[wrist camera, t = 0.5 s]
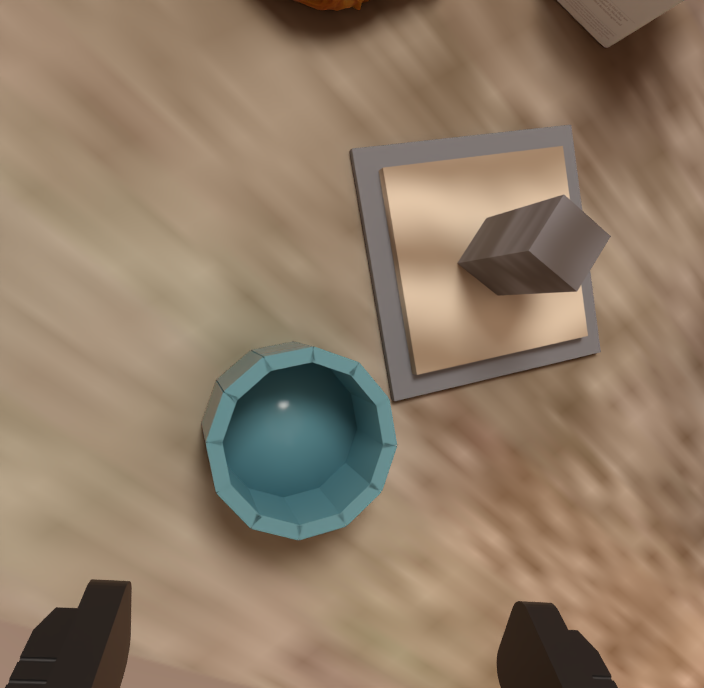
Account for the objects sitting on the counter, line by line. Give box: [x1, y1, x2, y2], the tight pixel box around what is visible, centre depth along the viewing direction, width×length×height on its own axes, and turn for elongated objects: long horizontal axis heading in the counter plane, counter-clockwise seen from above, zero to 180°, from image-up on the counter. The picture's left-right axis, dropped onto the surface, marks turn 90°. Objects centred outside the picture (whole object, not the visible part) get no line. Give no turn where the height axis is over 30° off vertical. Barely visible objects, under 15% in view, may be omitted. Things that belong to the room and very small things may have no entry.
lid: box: [379, 146, 611, 375], centre depth 35 cm, size 13×13×9 cm
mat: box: [350, 125, 601, 401], centre depth 39 cm, size 16×16×1 cm
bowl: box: [201, 342, 397, 540], centre depth 34 cm, size 10×10×6 cm
